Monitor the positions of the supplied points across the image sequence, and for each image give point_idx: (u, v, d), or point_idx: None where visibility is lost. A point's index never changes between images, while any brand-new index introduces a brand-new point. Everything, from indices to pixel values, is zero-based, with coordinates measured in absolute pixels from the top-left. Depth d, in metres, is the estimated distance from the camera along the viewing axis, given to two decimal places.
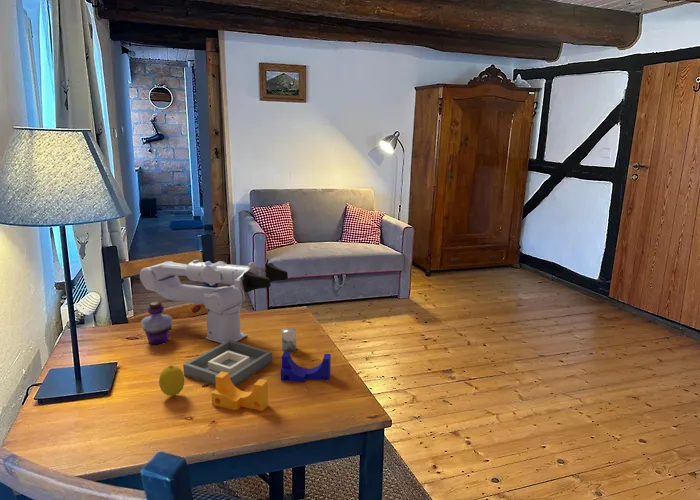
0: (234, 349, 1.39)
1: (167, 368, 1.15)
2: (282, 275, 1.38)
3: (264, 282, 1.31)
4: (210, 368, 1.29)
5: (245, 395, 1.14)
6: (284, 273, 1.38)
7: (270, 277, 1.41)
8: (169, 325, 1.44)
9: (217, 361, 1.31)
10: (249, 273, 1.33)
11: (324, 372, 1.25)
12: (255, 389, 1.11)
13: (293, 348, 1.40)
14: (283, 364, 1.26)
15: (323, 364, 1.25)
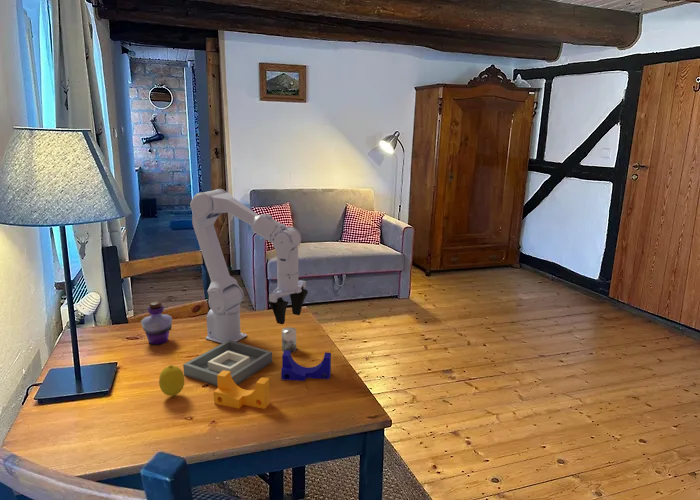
0: (234, 349, 1.39)
1: (167, 368, 1.15)
2: (295, 310, 1.42)
3: (279, 319, 1.36)
4: (210, 368, 1.29)
5: (247, 393, 1.14)
6: (297, 313, 1.42)
7: (293, 295, 1.42)
8: (169, 325, 1.44)
9: (217, 361, 1.31)
10: (285, 305, 1.33)
11: (324, 371, 1.26)
12: (258, 387, 1.12)
13: (293, 348, 1.40)
14: (284, 363, 1.26)
15: (324, 363, 1.25)
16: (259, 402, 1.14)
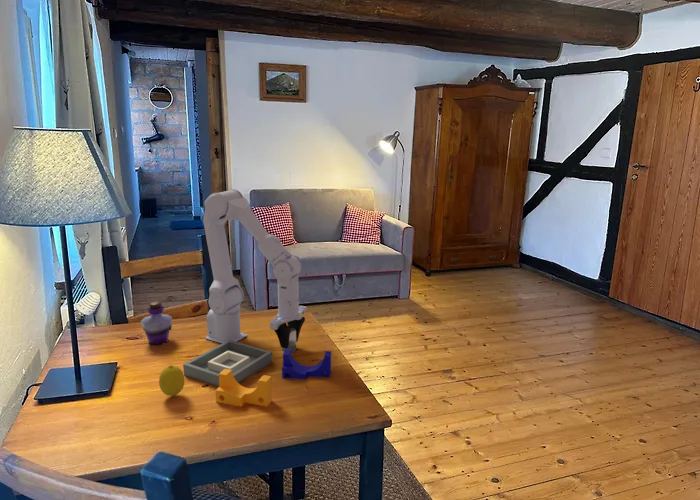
0: (234, 349, 1.39)
1: (167, 368, 1.15)
2: None
3: (283, 343, 1.39)
4: (210, 368, 1.29)
5: (249, 391, 1.15)
6: None
7: (290, 322, 1.42)
8: (169, 325, 1.44)
9: (217, 361, 1.31)
10: (289, 330, 1.36)
11: (325, 369, 1.27)
12: (260, 384, 1.13)
13: (293, 348, 1.40)
14: (284, 362, 1.27)
15: (324, 361, 1.26)
16: (261, 400, 1.15)
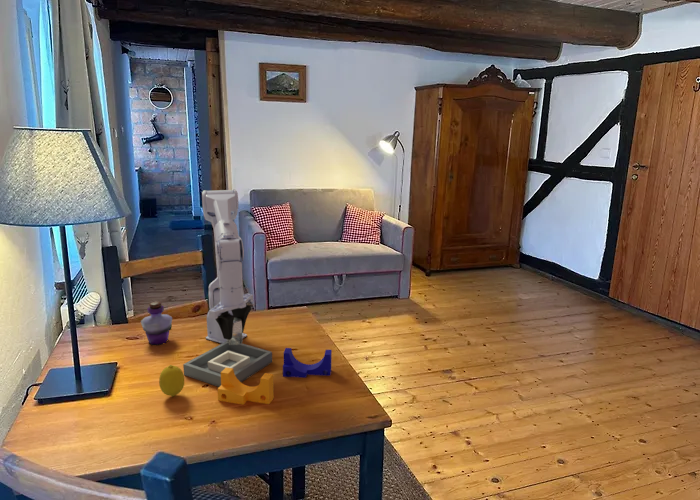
0: (234, 349, 1.39)
1: (167, 368, 1.15)
2: None
3: (226, 334, 1.27)
4: (210, 368, 1.29)
5: (251, 389, 1.16)
6: None
7: (235, 311, 1.30)
8: (169, 325, 1.44)
9: (217, 361, 1.31)
10: (231, 320, 1.24)
11: (325, 367, 1.27)
12: (262, 382, 1.14)
13: (239, 340, 1.28)
14: (285, 360, 1.28)
15: (325, 360, 1.27)
16: (263, 398, 1.16)
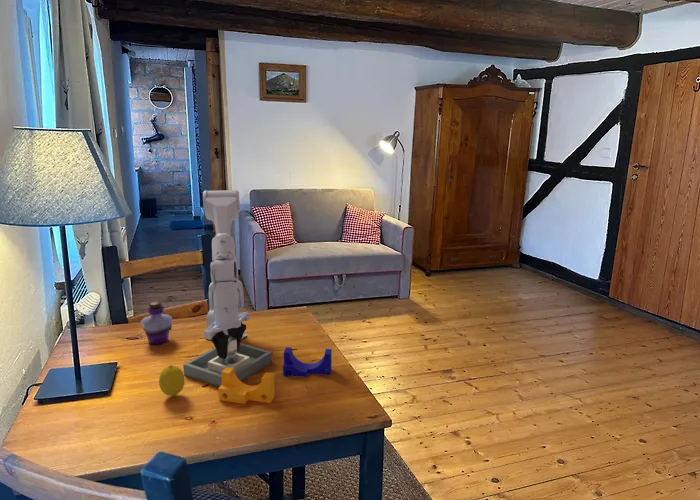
0: None
1: (167, 368, 1.15)
2: None
3: (221, 353, 1.27)
4: (210, 368, 1.29)
5: (252, 389, 1.16)
6: None
7: (230, 330, 1.31)
8: (169, 325, 1.44)
9: (217, 361, 1.31)
10: (226, 339, 1.25)
11: (325, 367, 1.28)
12: (263, 381, 1.14)
13: (234, 359, 1.29)
14: (285, 360, 1.28)
15: (325, 359, 1.27)
16: (264, 397, 1.16)
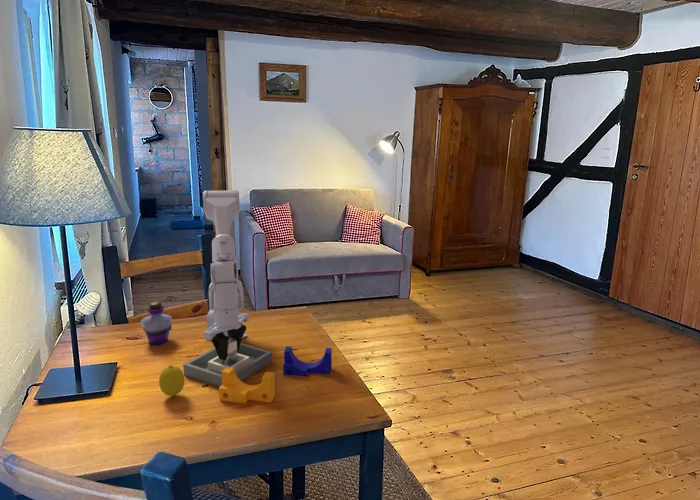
0: None
1: (167, 368, 1.15)
2: None
3: (221, 355, 1.27)
4: (210, 368, 1.29)
5: (252, 388, 1.17)
6: None
7: (230, 331, 1.31)
8: (169, 325, 1.44)
9: (217, 361, 1.31)
10: (226, 341, 1.25)
11: (325, 366, 1.28)
12: (264, 381, 1.14)
13: (234, 360, 1.29)
14: (285, 359, 1.28)
15: (325, 358, 1.28)
16: (264, 396, 1.16)
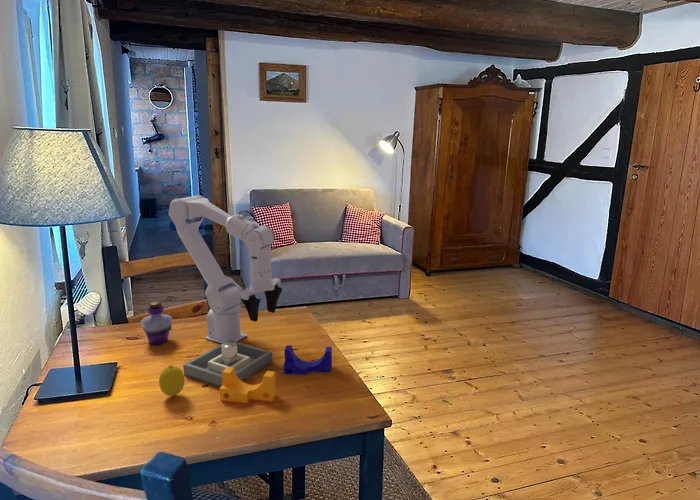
0: None
1: (167, 368, 1.15)
2: (270, 308, 1.44)
3: (252, 316, 1.37)
4: (210, 368, 1.29)
5: (253, 388, 1.17)
6: (272, 311, 1.44)
7: (267, 292, 1.43)
8: (169, 325, 1.44)
9: (217, 361, 1.31)
10: (257, 303, 1.35)
11: (326, 364, 1.29)
12: (265, 380, 1.15)
13: None
14: (286, 358, 1.29)
15: (325, 357, 1.28)
16: (266, 395, 1.17)
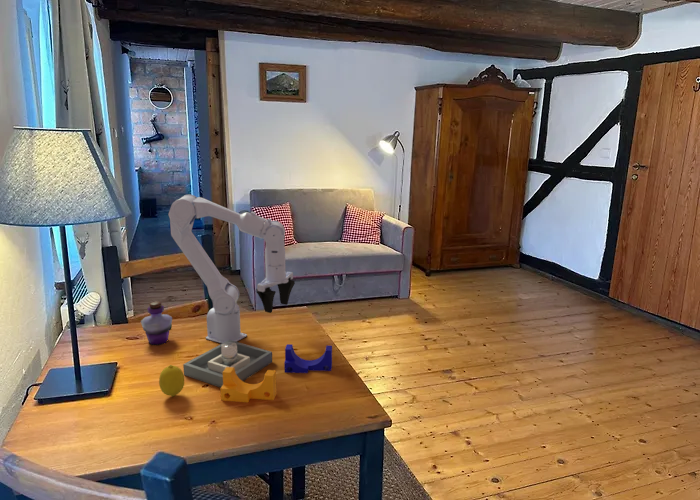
0: None
1: (167, 368, 1.15)
2: (283, 300, 1.50)
3: (267, 308, 1.44)
4: (210, 368, 1.29)
5: (254, 387, 1.17)
6: (285, 303, 1.50)
7: (280, 285, 1.50)
8: (169, 325, 1.44)
9: (217, 361, 1.31)
10: (272, 295, 1.41)
11: (326, 363, 1.30)
12: (266, 379, 1.15)
13: None
14: (286, 357, 1.30)
15: (325, 355, 1.29)
16: (266, 394, 1.17)
